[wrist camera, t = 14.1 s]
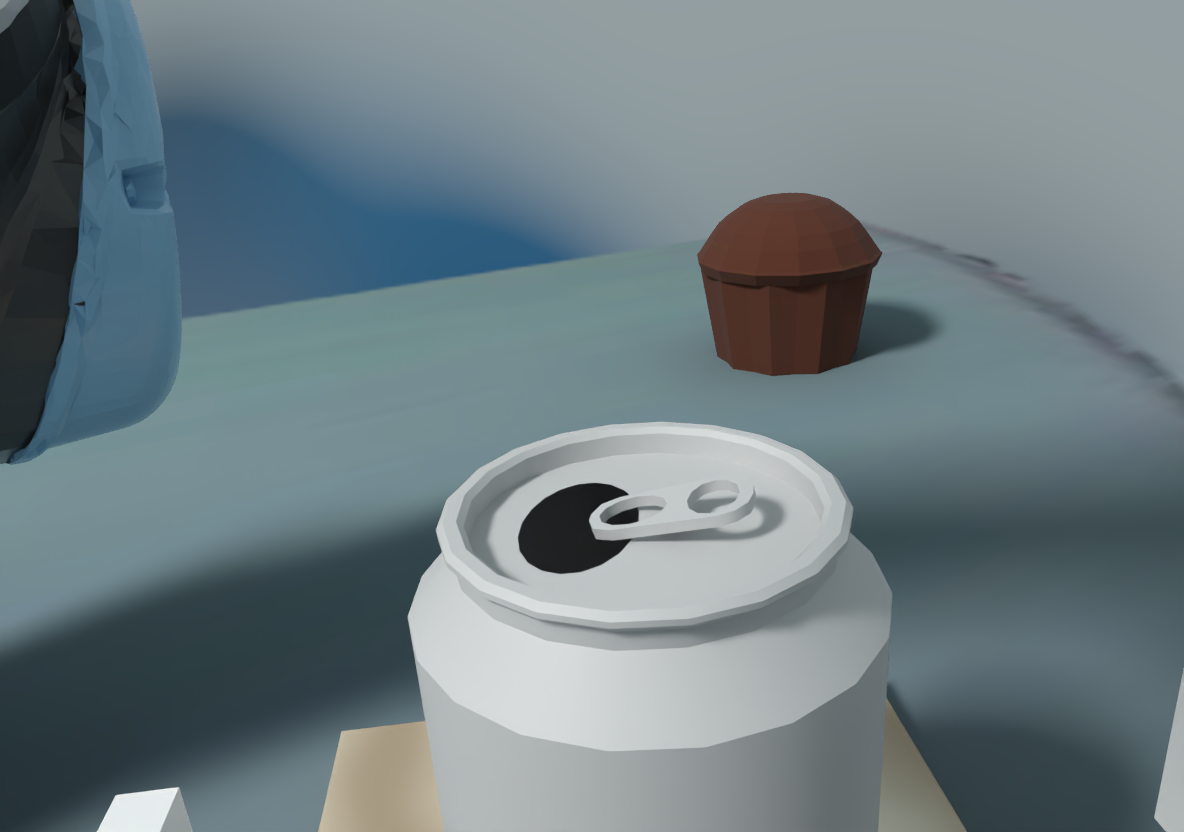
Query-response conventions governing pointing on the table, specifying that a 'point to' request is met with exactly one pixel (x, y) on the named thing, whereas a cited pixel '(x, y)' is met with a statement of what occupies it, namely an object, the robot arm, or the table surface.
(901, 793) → the pin base
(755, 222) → the muffin
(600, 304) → the table surface
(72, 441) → the robot arm
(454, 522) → the can
